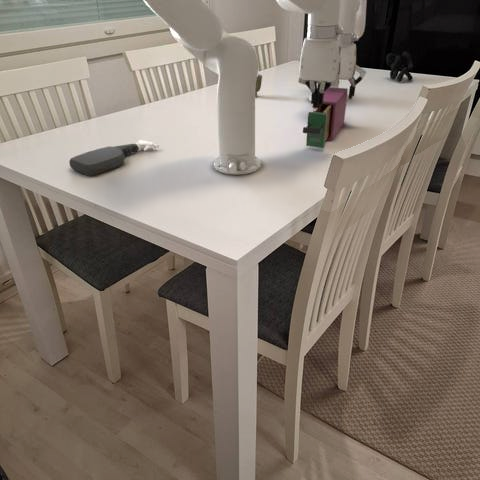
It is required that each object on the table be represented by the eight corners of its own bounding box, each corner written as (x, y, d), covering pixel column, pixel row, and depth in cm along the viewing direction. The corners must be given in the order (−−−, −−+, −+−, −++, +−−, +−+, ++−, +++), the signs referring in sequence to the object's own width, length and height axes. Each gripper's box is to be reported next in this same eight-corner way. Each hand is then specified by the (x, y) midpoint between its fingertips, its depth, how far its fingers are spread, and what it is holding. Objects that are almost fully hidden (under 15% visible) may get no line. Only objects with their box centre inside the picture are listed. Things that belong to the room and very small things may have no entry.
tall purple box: (332, 140, 135) (336, 102, 129) (312, 138, 137) (314, 100, 131) (343, 123, 149) (347, 88, 143) (325, 121, 151) (328, 87, 145)
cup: (240, 97, 179) (240, 76, 175) (248, 93, 185) (248, 72, 181) (257, 99, 176) (257, 78, 172) (265, 94, 182) (265, 74, 178)
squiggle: (400, 92, 202) (376, 71, 205) (417, 76, 202) (392, 56, 205) (405, 81, 191) (380, 59, 194) (423, 64, 191) (397, 42, 194)
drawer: (318, 154, 123) (321, 120, 118) (300, 152, 125) (302, 118, 120) (335, 130, 141) (338, 99, 135) (319, 128, 142) (322, 97, 137)
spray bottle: (67, 168, 120) (139, 144, 136) (91, 178, 114) (163, 151, 130) (65, 157, 118) (137, 134, 134) (89, 167, 112) (162, 142, 128)
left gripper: (355, 31, 111) (347, 105, 121) (297, 29, 116) (294, 101, 126) (349, 35, 106) (341, 113, 115) (289, 33, 110) (286, 108, 120)
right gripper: (372, 38, 134) (364, 96, 143) (315, 36, 140) (311, 92, 149) (368, 42, 128) (360, 102, 137) (309, 40, 134) (306, 97, 143)
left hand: (316, 106), depth 121 cm, fingers closed
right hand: (335, 97), depth 143 cm, fingers open, 9 cm apart
